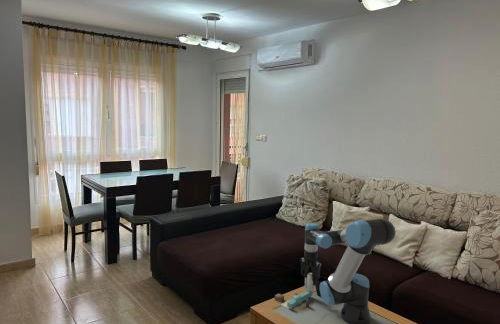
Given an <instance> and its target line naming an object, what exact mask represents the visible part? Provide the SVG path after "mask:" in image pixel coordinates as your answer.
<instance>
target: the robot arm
mask: <svg viewBox="0 0 500 324" xmlns="http://www.w3.org/2000/svg"><path fill="white" fill-rule="evenodd" d="M395 237H396V227H395V226H394V225H393V223H392V222H391V221H390V220H388V219H385V218H375V219H366V220H365V219H363V220H361V219H359V220H355V221H352V222H350V223H349V224H348V225H347V227H346V229H339V230H328V231H321V230H320V226H319V224H318V223H315V222H308V223H306V224H305V228H304V253H303V255H304V257H301V258H300V259H299V262H300V275H301V276H303V283H304V289H305V290H307V274H308V273H309V270H310V269H311V273H312V278H313V279H312V280H311V291H316V288H315V285H316V280H318V279H319V278H320V277H321V268H322V267H321V266H322V262H319V260H318V254H319V252H318V250H319V248H318V247H320V248H321V249H322V248H323V249H328V248H330V247H331V246H334V245H343V244H344V245H345V244H346V245H347V246H346V249H345V251H344V253H343V255H342V258H341V259H340V261H339V263H338V265H337V267H336V269H335V271H334V272H333V273H331V274H330V275H329V277H328V280H327V281H323V282H321V283H320V294H321V299H322V301H323V302H324V303H325V305H327V306H336V305H340V304H343V306H342V308H341V310H340V318H341V319H342V320H343V321H344V322H346V323H348V324H369V323H370V322H371V318H372V316H371V312H370V308H369V293H370V292H369V291H370V280H369V278H368V277H367V276H365V275H363V274H360V273H357V271H358V269H359V267H360V266H361V264H362V262H363V260H364V258H365V257H366V256H367V255H370V254H371V253H372V251H373V250H374V248H375V247H376V246H384V245H388V244H389V243H391V242H392V241H394V239H395Z"/></svg>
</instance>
